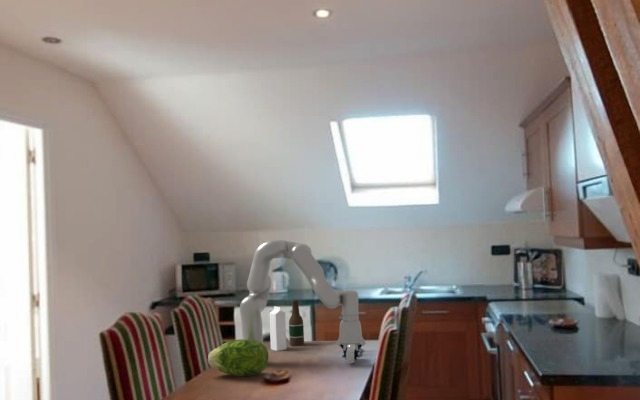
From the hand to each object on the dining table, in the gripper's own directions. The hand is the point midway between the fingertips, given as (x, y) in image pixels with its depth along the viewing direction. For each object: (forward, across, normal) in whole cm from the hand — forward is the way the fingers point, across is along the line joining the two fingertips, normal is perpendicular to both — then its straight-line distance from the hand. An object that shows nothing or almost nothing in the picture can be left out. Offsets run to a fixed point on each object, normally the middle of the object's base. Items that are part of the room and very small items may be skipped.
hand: (351, 358), depth 266 cm
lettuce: (+4, -47, -19) cm, 51 cm away
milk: (+4, -40, +34) cm, 53 cm away
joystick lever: (0, 0, +2) cm, 2 cm away
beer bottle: (+3, -32, +45) cm, 56 cm away
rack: (+2, -1, +22) cm, 23 cm away
